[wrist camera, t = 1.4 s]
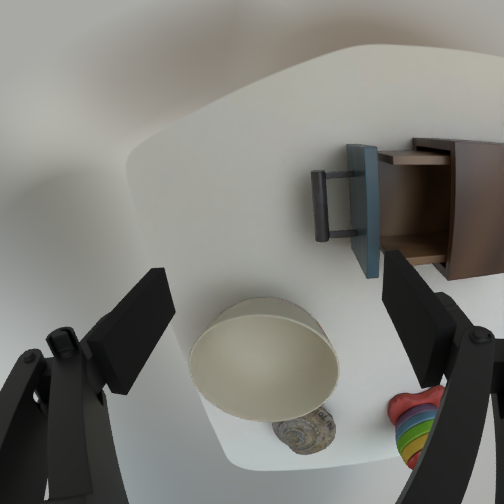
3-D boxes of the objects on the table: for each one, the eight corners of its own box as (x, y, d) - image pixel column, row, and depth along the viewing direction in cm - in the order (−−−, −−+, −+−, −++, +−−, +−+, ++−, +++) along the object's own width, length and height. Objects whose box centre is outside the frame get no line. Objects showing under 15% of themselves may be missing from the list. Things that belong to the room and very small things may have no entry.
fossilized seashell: (341, 405, 42) (334, 446, 37) (335, 424, 49) (329, 458, 44) (274, 397, 45) (263, 436, 40) (279, 417, 52) (270, 450, 47)
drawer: (314, 251, 35) (321, 282, 27) (306, 146, 30) (311, 149, 23) (453, 240, 32) (486, 266, 25) (455, 144, 28) (493, 150, 21)
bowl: (195, 278, 39) (168, 322, 29) (324, 260, 36) (335, 304, 27) (225, 372, 44) (211, 423, 35) (333, 362, 41) (340, 415, 32)
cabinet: (413, 245, 34) (447, 281, 25) (412, 137, 29) (454, 140, 20) (502, 238, 32) (543, 266, 22) (506, 143, 27) (554, 152, 18)
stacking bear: (447, 382, 41) (481, 462, 24) (435, 417, 44) (458, 491, 28) (390, 395, 43) (412, 485, 26) (383, 429, 46) (397, 509, 30)
